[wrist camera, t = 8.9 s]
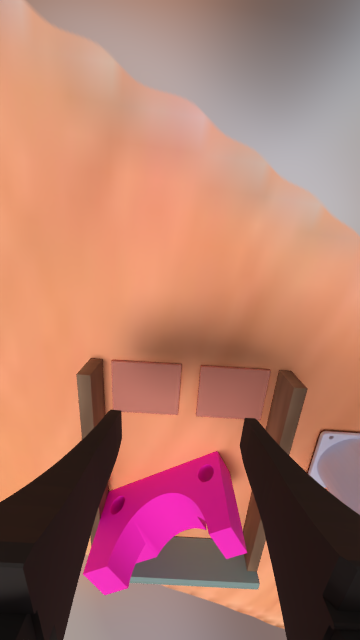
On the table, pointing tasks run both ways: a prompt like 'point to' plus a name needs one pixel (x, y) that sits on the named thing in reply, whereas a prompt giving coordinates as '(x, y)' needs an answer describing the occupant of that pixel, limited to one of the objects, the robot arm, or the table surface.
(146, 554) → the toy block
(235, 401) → the trap squares
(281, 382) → the lane rails
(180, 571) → the end stop
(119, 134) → the table surface
